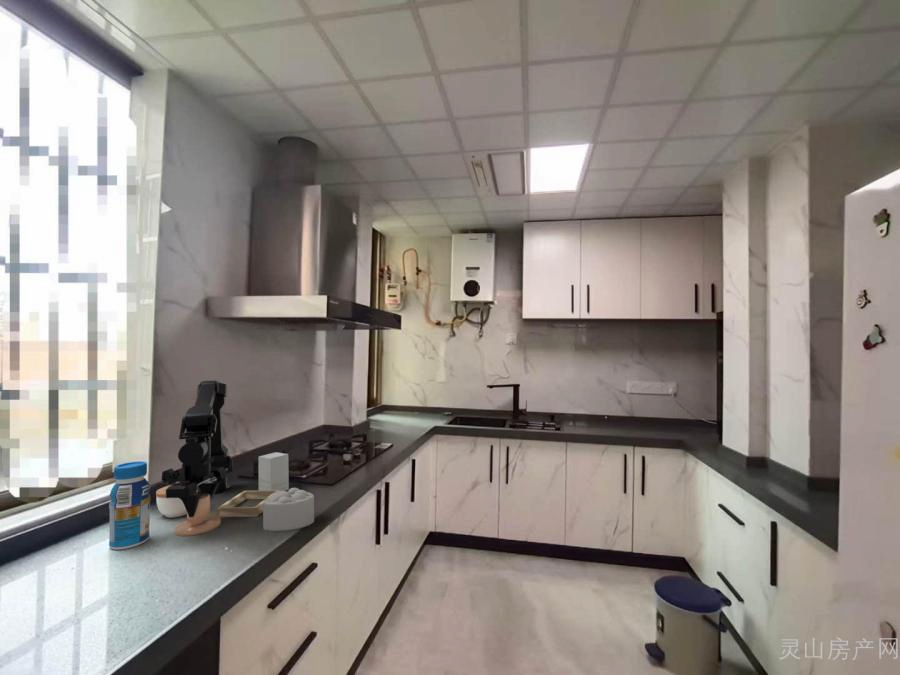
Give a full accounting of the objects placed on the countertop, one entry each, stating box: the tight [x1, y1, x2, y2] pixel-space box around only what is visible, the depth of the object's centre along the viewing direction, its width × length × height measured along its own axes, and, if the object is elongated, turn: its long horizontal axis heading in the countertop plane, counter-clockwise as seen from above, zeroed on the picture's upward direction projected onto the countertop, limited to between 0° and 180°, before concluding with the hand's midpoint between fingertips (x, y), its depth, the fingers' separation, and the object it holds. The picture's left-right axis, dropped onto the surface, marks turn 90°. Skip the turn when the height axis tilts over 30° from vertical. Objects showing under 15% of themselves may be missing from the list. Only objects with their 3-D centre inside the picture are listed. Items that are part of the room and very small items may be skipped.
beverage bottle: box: [108, 460, 151, 551], centre depth 105 cm, size 8×8×20 cm
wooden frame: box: [215, 490, 279, 518], centre depth 128 cm, size 16×12×2 cm
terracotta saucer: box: [173, 515, 222, 537], centre depth 113 cm, size 11×11×1 cm
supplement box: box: [257, 451, 290, 492], centre depth 143 cm, size 7×7×13 cm
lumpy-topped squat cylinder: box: [262, 487, 315, 532], centre depth 115 cm, size 10×13×9 cm
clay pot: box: [186, 494, 211, 523], centre depth 113 cm, size 6×6×6 cm
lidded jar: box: [155, 481, 199, 519], centre depth 124 cm, size 11×11×9 cm
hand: (198, 512), depth 113 cm, fingers open, 6 cm apart
